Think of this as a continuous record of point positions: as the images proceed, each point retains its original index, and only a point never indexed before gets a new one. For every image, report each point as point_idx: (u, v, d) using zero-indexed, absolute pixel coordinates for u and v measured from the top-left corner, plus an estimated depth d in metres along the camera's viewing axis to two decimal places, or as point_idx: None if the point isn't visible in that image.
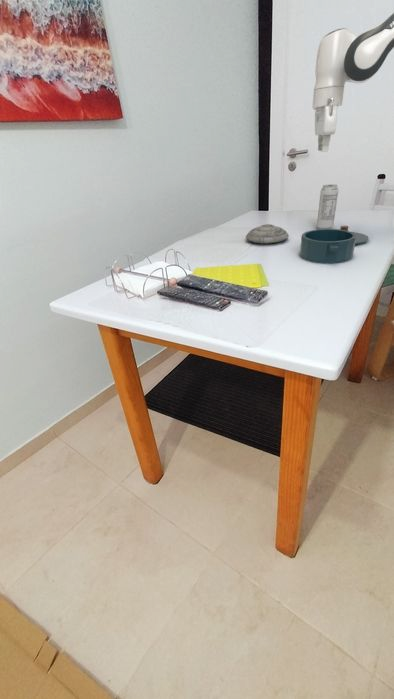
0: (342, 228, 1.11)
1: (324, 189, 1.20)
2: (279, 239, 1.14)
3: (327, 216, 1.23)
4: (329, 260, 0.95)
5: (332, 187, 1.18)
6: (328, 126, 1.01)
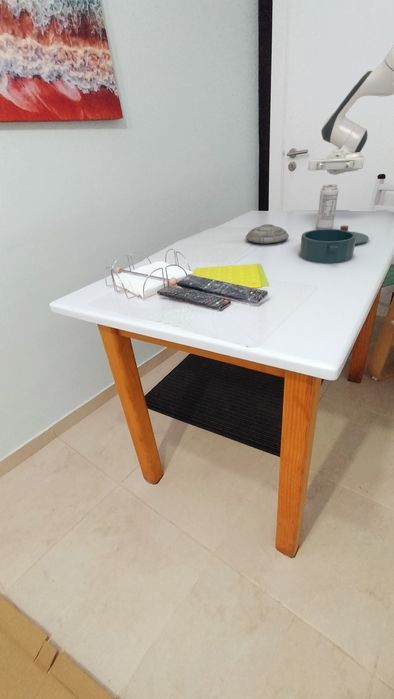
0: (342, 228, 1.11)
1: (324, 189, 1.20)
2: (279, 239, 1.14)
3: (327, 216, 1.23)
4: (329, 260, 0.95)
5: (332, 187, 1.18)
6: (309, 166, 1.36)
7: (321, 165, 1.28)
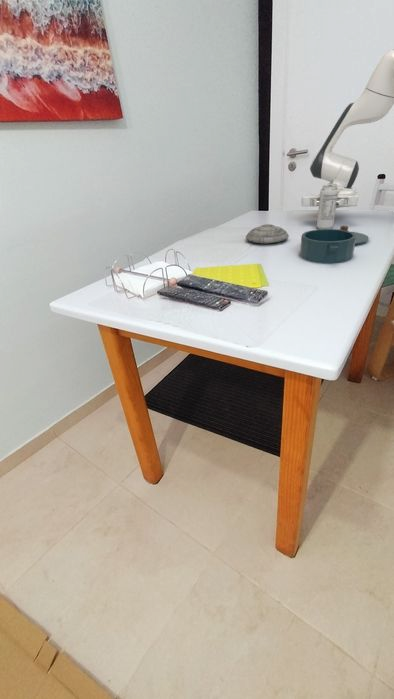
0: (342, 228, 1.11)
1: (324, 189, 1.20)
2: (279, 239, 1.14)
3: (327, 216, 1.23)
4: (329, 260, 0.95)
5: (332, 187, 1.18)
6: None
7: (317, 202, 1.24)
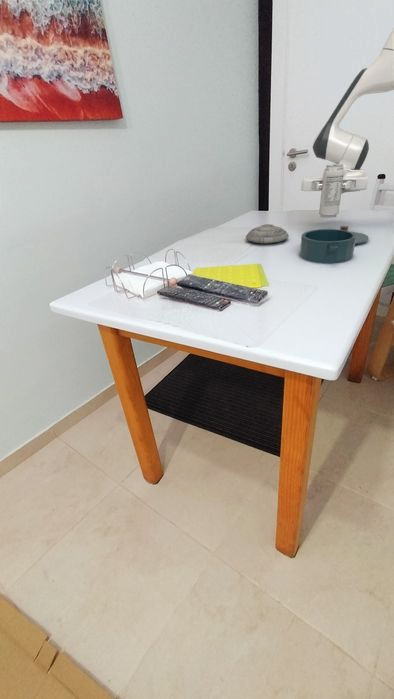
0: (342, 228, 1.11)
1: (328, 169, 1.02)
2: (279, 239, 1.14)
3: (331, 202, 1.06)
4: (329, 260, 0.95)
5: (337, 167, 1.01)
6: None
7: (319, 186, 1.07)
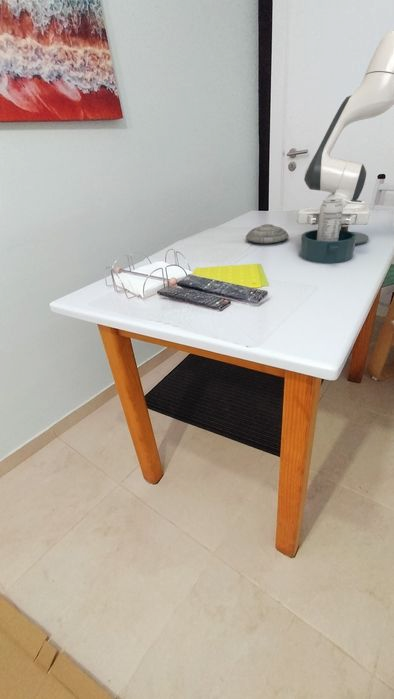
0: (342, 228, 1.11)
1: (325, 205, 0.93)
2: (279, 239, 1.14)
3: (329, 239, 0.96)
4: (329, 260, 0.95)
5: (335, 203, 0.92)
6: None
7: (313, 220, 0.97)
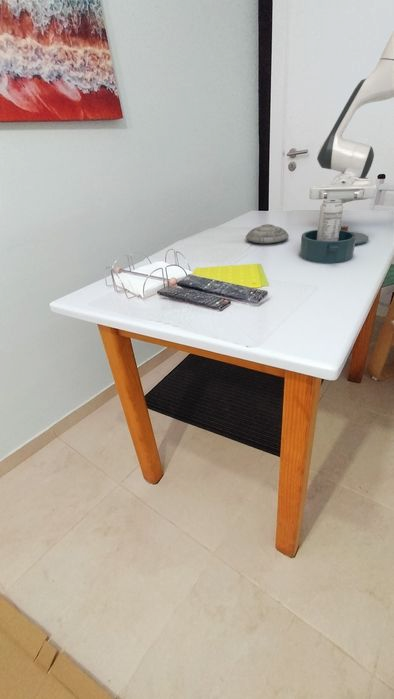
0: (342, 228, 1.11)
1: (325, 205, 0.93)
2: (279, 239, 1.14)
3: (329, 239, 0.96)
4: (329, 260, 0.95)
5: (335, 203, 0.92)
6: (310, 194, 1.15)
7: (325, 195, 1.08)
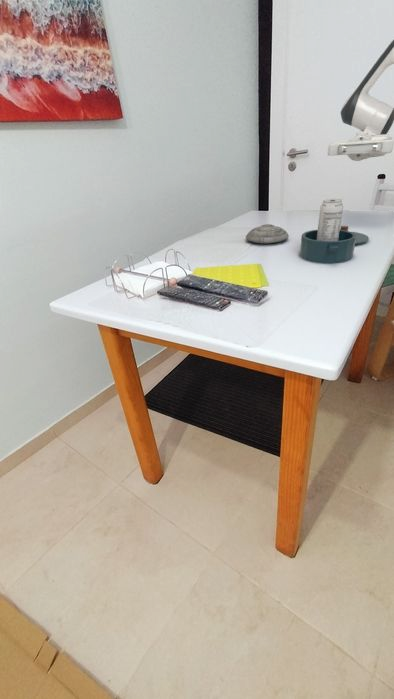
0: (342, 228, 1.11)
1: (325, 205, 0.93)
2: (279, 239, 1.14)
3: (329, 239, 0.96)
4: (329, 260, 0.95)
5: (335, 203, 0.92)
6: None
7: (343, 148, 1.11)
